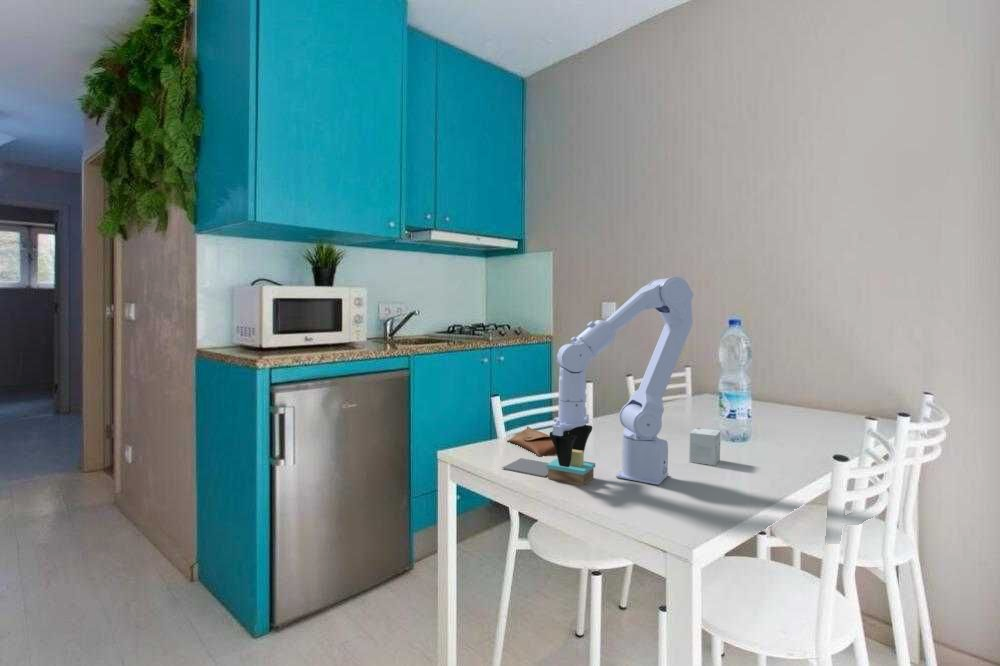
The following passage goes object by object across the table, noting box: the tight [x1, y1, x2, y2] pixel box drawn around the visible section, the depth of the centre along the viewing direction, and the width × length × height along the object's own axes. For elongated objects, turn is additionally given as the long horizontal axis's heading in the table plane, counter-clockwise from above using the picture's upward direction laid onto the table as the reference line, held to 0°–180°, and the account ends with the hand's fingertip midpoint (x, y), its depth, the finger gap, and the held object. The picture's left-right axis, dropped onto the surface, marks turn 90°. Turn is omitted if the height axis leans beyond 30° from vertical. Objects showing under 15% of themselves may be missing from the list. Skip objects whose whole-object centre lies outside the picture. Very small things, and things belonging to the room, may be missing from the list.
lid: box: [546, 449, 596, 475], centre depth 115 cm, size 9×7×4 cm
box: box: [547, 467, 595, 486], centre depth 115 cm, size 8×6×2 cm
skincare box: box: [688, 427, 721, 467], centre depth 129 cm, size 6×6×7 cm
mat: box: [501, 457, 549, 478], centre depth 122 cm, size 11×9×1 cm
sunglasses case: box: [506, 426, 557, 458], centre depth 141 cm, size 18×7×7 cm, turn 30°
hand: (571, 461), depth 115 cm, fingers open, 6 cm apart
